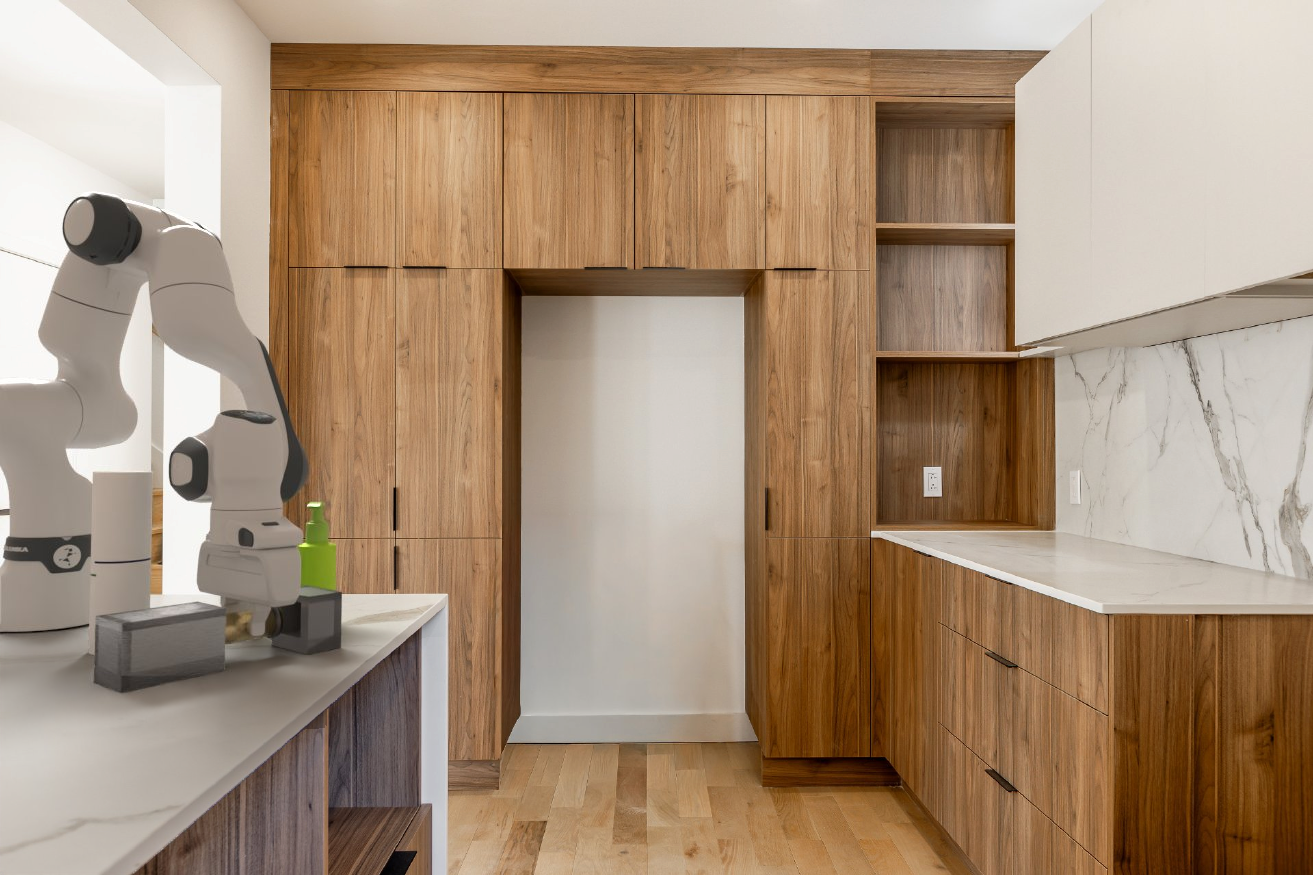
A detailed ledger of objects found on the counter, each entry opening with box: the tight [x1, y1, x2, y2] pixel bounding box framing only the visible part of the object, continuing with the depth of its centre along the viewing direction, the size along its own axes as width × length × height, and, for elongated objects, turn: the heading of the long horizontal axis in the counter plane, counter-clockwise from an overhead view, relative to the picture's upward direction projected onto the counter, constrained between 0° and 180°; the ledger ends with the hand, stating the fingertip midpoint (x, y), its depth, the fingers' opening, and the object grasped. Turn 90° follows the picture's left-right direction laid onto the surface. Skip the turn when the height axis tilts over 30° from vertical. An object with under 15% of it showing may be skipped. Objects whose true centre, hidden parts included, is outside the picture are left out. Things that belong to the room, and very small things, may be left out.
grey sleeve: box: [93, 601, 226, 694], centre depth 101 cm, size 12×7×8 cm, turn 145°
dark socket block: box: [271, 585, 343, 655], centre depth 118 cm, size 5×9×8 cm, turn 55°
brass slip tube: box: [225, 607, 285, 646], centre depth 107 cm, size 16×5×5 cm, turn 145°
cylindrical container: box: [88, 470, 154, 656], centre depth 115 cm, size 7×7×25 cm
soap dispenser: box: [296, 501, 337, 591], centre depth 131 cm, size 6×7×20 cm
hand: (244, 632), depth 110 cm, fingers closed on brass slip tube, 4 cm apart
